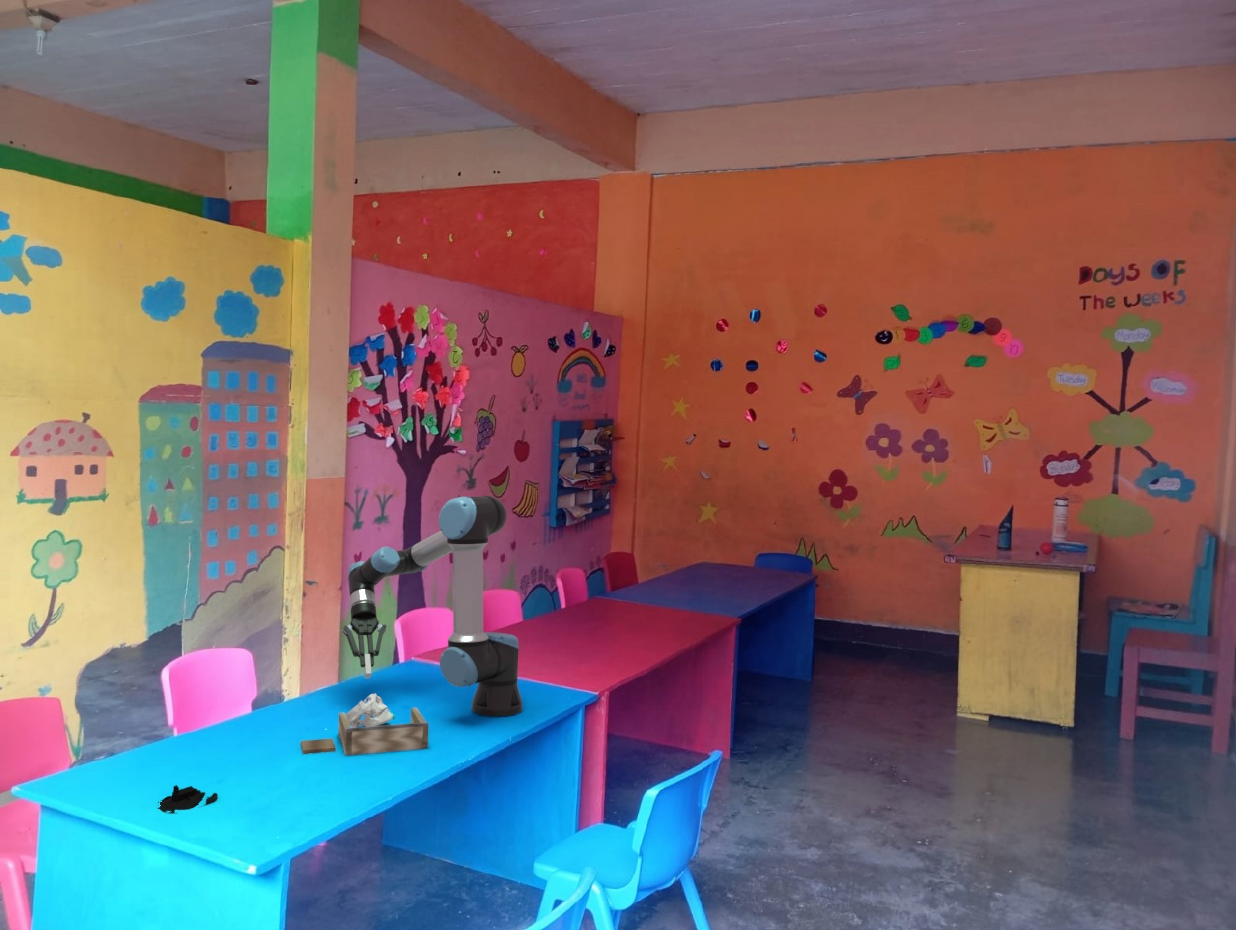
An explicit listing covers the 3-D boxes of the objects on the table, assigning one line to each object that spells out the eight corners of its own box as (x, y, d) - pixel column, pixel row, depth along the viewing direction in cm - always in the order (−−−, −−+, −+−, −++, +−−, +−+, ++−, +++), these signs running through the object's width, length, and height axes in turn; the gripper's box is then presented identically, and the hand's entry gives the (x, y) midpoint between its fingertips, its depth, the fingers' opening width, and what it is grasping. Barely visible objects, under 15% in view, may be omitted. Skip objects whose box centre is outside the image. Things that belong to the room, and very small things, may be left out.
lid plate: (332, 743, 263) (332, 738, 263) (335, 753, 256) (335, 747, 256) (300, 746, 260) (300, 740, 260) (303, 756, 253) (303, 750, 253)
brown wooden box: (415, 728, 277) (416, 704, 277) (427, 748, 261) (428, 722, 260) (338, 734, 269) (339, 710, 269) (345, 755, 253) (346, 729, 253)
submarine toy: (174, 819, 211) (174, 796, 211) (146, 808, 216) (146, 786, 216) (223, 802, 221) (223, 780, 221) (195, 792, 226) (195, 771, 226)
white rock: (385, 723, 271) (363, 696, 272) (364, 744, 272) (342, 718, 274) (404, 712, 282) (382, 686, 284) (384, 732, 284) (362, 707, 285)
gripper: (383, 614, 308) (389, 681, 294) (340, 615, 304) (343, 683, 289) (386, 600, 303) (392, 668, 289) (342, 601, 299) (346, 670, 284)
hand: (368, 675), depth 289 cm, fingers closed
